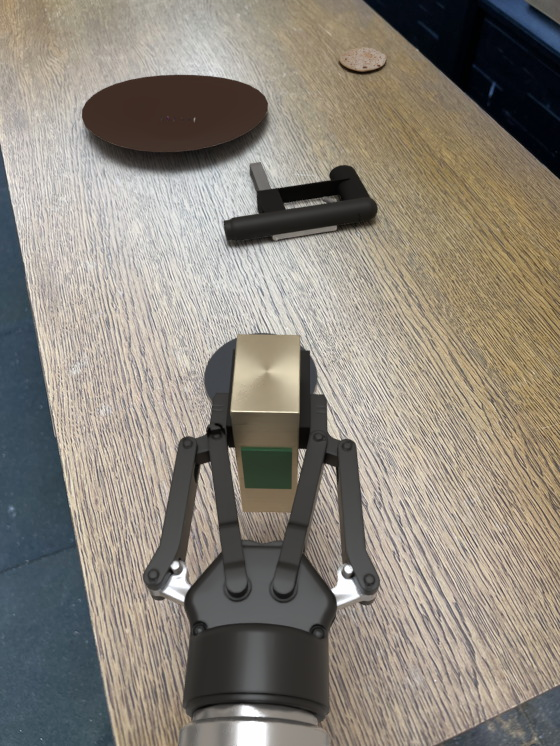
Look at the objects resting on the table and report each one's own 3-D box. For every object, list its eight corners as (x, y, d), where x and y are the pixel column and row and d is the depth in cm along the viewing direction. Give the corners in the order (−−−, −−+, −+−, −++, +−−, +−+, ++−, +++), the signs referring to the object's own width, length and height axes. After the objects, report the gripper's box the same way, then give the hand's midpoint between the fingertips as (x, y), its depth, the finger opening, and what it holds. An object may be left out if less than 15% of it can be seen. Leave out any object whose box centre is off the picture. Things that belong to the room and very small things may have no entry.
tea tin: (247, 442, 51) (237, 333, 41) (297, 443, 51) (300, 334, 41) (242, 514, 48) (229, 414, 37) (296, 515, 47) (299, 415, 37)
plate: (277, 78, 108) (277, 56, 105) (257, 180, 91) (256, 157, 88) (112, 71, 110) (107, 49, 107) (62, 169, 93) (55, 146, 90)
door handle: (207, 164, 89) (227, 233, 78) (347, 144, 92) (384, 209, 81) (209, 185, 91) (229, 255, 81) (345, 165, 94) (382, 230, 84)
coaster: (181, 375, 69) (181, 372, 69) (266, 319, 74) (265, 316, 74) (254, 446, 64) (254, 443, 63) (340, 381, 69) (340, 378, 68)
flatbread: (351, 77, 108) (351, 71, 107) (332, 56, 112) (332, 50, 111) (394, 67, 109) (395, 61, 109) (374, 47, 114) (374, 42, 113)
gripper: (103, 730, 36) (162, 390, 50) (414, 739, 35) (383, 394, 50) (67, 701, 30) (145, 325, 44) (439, 711, 30) (396, 328, 44)
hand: (271, 362), depth 47 cm, fingers closed on tea tin, 4 cm apart
